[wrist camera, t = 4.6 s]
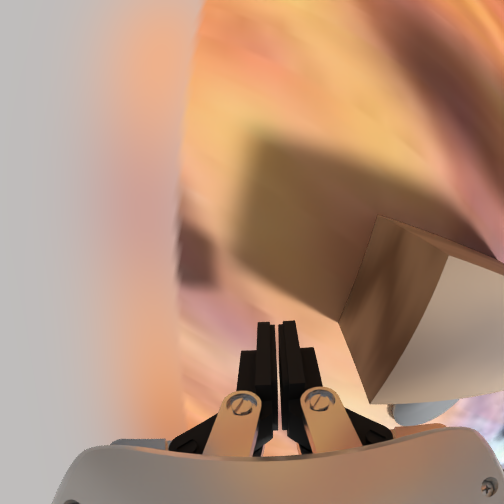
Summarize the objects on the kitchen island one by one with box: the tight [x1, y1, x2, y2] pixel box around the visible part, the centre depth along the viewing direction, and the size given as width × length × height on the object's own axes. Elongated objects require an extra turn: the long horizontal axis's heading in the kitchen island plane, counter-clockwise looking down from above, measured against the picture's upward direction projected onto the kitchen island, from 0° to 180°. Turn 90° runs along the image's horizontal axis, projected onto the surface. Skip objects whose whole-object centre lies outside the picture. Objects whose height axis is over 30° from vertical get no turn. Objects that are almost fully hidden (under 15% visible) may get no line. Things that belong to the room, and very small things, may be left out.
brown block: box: [338, 215, 504, 404], centre depth 12 cm, size 7×12×7 cm, turn 77°
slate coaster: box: [392, 399, 459, 426], centre depth 18 cm, size 9×9×1 cm
